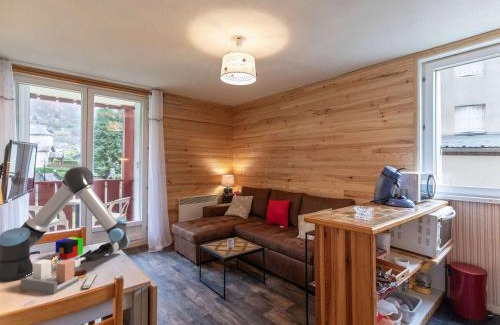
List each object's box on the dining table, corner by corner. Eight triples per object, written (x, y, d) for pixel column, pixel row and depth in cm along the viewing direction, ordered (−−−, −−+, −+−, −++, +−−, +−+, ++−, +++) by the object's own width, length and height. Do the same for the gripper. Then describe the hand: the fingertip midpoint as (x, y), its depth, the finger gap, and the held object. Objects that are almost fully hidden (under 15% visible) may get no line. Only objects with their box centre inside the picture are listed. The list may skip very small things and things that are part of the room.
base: (48, 277, 130) (48, 267, 130) (78, 281, 126) (78, 271, 126) (20, 289, 117) (21, 279, 117) (53, 294, 113) (54, 283, 113)
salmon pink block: (66, 277, 127) (67, 259, 126) (75, 278, 126) (75, 260, 126) (56, 282, 121) (56, 263, 121) (64, 283, 120) (65, 264, 120)
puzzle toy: (55, 257, 156) (55, 241, 156) (71, 252, 165) (71, 236, 165) (67, 259, 153) (67, 243, 153) (82, 254, 162) (83, 238, 162)
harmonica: (89, 277, 131) (90, 273, 131) (96, 276, 132) (96, 272, 132) (81, 291, 118) (81, 286, 118) (88, 290, 119) (89, 286, 119)
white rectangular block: (44, 276, 126) (44, 258, 126) (52, 277, 125) (52, 259, 125) (32, 281, 121) (32, 263, 121) (41, 283, 120) (41, 264, 120)
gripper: (117, 256, 149) (84, 273, 126) (98, 254, 151) (62, 270, 128) (118, 243, 149) (85, 258, 126) (98, 241, 151) (62, 256, 128)
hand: (73, 264), depth 127 cm, fingers closed
